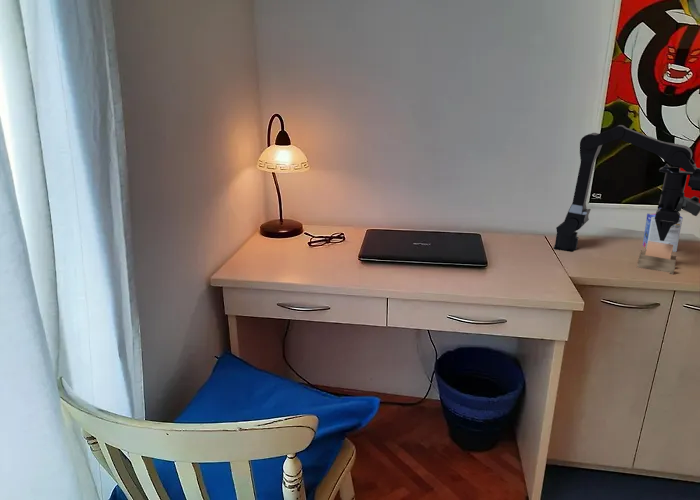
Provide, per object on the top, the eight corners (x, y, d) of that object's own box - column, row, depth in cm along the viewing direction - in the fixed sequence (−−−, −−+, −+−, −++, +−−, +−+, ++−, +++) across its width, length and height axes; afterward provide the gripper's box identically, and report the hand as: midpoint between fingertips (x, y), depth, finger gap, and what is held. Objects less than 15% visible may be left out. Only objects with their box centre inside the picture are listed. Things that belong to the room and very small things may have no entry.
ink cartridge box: (671, 247, 187) (679, 207, 182) (677, 252, 182) (685, 211, 177) (640, 246, 189) (647, 206, 184) (645, 251, 184) (652, 210, 179)
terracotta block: (643, 263, 172) (647, 242, 170) (644, 261, 174) (648, 240, 172) (668, 267, 168) (673, 246, 166) (668, 265, 170) (673, 244, 168)
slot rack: (636, 267, 168) (638, 258, 167) (639, 258, 176) (641, 250, 175) (673, 274, 163) (675, 265, 162) (674, 265, 171) (676, 256, 170)
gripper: (705, 197, 151) (692, 249, 156) (704, 186, 167) (692, 234, 172) (660, 192, 157) (649, 242, 162) (663, 181, 172) (653, 228, 177)
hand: (662, 236), depth 168 cm, fingers open, 9 cm apart
